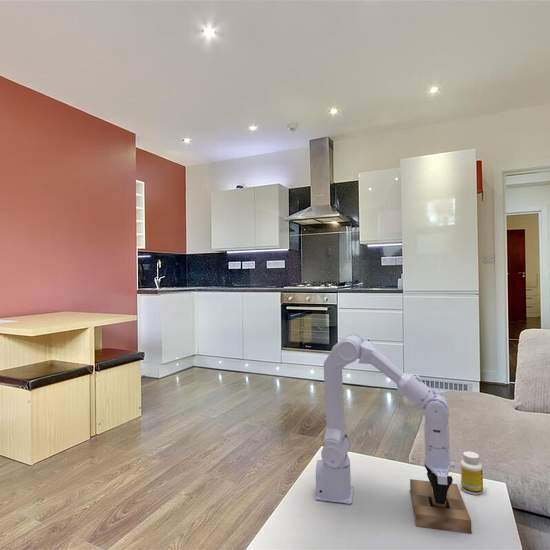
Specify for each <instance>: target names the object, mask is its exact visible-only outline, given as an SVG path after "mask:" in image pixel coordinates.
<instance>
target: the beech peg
mask: <svg viewBox="0 0 550 550" xmlns="http://www.w3.org/2000/svg"><path fill="white" fill-rule="evenodd" d="M431 473H433V472H431ZM432 507H438V508H446V501H445V504H437V503H436V502H435V499H434V494H433V489H432Z"/></svg>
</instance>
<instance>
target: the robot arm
mask: <svg viewBox="0 0 550 550" xmlns="http://www.w3.org/2000/svg"><path fill="white" fill-rule="evenodd" d="M358 359H359V361H358V364H361V365H362V364H363V365H364V364H365V365H366V364H367V365H371V366H373V367H374V368H376V369H377V371H379V372H381V373H382V374H384V376H386V377H387V378H388V379H390V380H391V381H393V382H394V383H395V384H396V390H397V391H398V393H400V394H401V395H402V396H404V397H405V398H406V399H407V400H408V401H410V403H412V404H413V405H415V407H417V408H418V409H421V410H422V414H423V416H424V421H425V422H424V424H423V425H424V428H423V429H424V457H425V458H424V465H423V466H424V468H425V469H426V476H427V479H428V481H430V483H431V487H432V489H433V494H434V499H435V502H436V503H437V504H445V501H446V497H447V492H448V489H449V487H450V485H451V484H452V483H453V481H454V480H453V477H452V475H449V473H450V471H451V469H453V468H456V463H455V461H453V460H451V453H450V452H451V451H450V449H451V448H450V447H451V445H450V427H449V417H450V412H449V404H448V403H449V402H448V400H447V399H446V398H445V397H444V395H443V393H441V392H439V391H437V390H436V389H434V388H433V389H432V388H430V387H429V386H428V385H427V384H425V383H424V382H423V381H422V379H421V377H420V376H419V375H418V374H416V375H415V374H413V373H404V372H403V371H402V370H401V369H400V368H398V367H397V365H395V364H394V363H393V362H391V360H389V359H388V358H387V357H386V356H385V355H384V354H382V353H381V352H380V351H379V350H378V349H377V348H376V347H375V346H373V345H372V344H371V342H368V341H367V340H364V339H363V337H361V336H360V335H358V334H355V333H353V334H349V335H347V336H345V337H344V338H343V339H341V340H340V341H338V342H337V343H336V344H334V345H333V346H332V348H331V350H330V352H329V354H328V355H327V357H326V358H325V360H324V362H323V378H324V379H323V381H324V403H325V404H324V405H325V422H326V423H325V424H326V425H325V426H326V429H325V432H324V433H325V434H324V438H323V446H322V449H321V452H320V455H321V459H317V460H316V465H315V493H316V495H315V499H316V500H317V501H324V502H331V503H338V504H339V503H340V504H348V505H351V504H352V502H353V495H354V487H353V486H351V484H352V483H351V480H352V479H351V460H350V457H349V455H348V453H349V451H350V450H351V447H352V443H351V439H350V437H349V435H348V429H347V426H345V425H346V424H345V422H346V421H345V405H344V404H345V403H344V401H345V400H344V387H343V385H344V384H343V380H344V379H343V369H344V368H345V367H346V366H347V365H349V364H352V363H354V362H355V361H357V360H358ZM431 472H433V473H431Z"/></svg>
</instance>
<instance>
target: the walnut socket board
mask: <svg viewBox="0 0 550 550" xmlns="http://www.w3.org/2000/svg"><path fill="white" fill-rule="evenodd" d="M409 485H410V486H409V487H410V490H409V491H410V496H411V501H412V507H413V515H414V519H415V526H416V527H418V528H427V529H435V530H440V531H441V530H442V531H450V532H458V533H465V534H472V519H471V516H470V514H469V511H468V509H467V506H466V504H465V502H464V498H463V497H462V494H461V491H460V489H459V486H458V484H457V483H453V482H452V484H451V485H450V487H449V489H448V492H447V497H446V508H438V507H432V487H431V483H430V481H429V480H421V479H412V478H411V479H409Z"/></svg>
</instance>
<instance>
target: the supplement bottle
mask: <svg viewBox="0 0 550 550" xmlns="http://www.w3.org/2000/svg"><path fill="white" fill-rule="evenodd" d="M462 457H463V459H462V460H461V461H460V486H461V490H462V491H464V492H465V493H467V494H469V495H475V496H476V495H477V496H480V495H481V494H483V492H484V481H483V479H484V478H483V476H484V475H483V465H482V463H480V455H479V454H478V453H476V452H473V451H464V452H463V455H462Z"/></svg>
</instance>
